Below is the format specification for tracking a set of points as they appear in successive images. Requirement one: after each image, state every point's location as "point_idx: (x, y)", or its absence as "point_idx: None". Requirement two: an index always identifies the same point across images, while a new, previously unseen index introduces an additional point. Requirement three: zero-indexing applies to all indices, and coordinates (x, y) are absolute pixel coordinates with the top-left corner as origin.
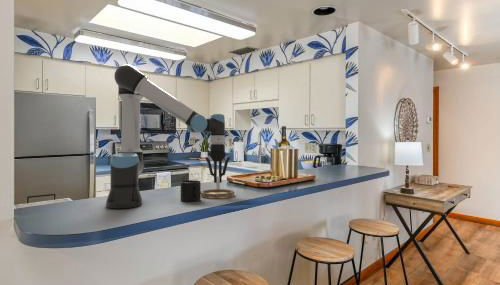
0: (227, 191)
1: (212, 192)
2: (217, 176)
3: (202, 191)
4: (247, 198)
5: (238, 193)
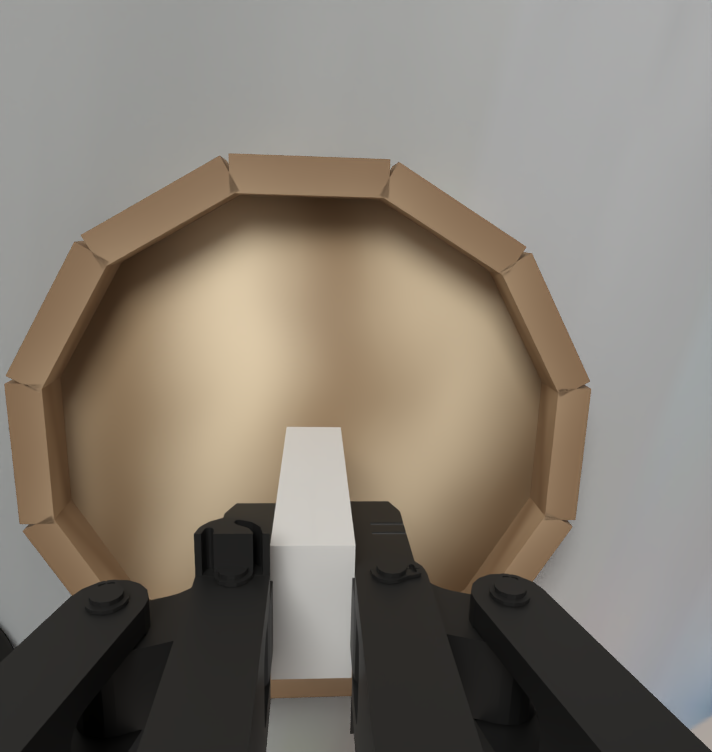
0: (512, 312)
1: (252, 242)
2: (311, 580)
3: (40, 390)
4: None
5: (682, 301)
